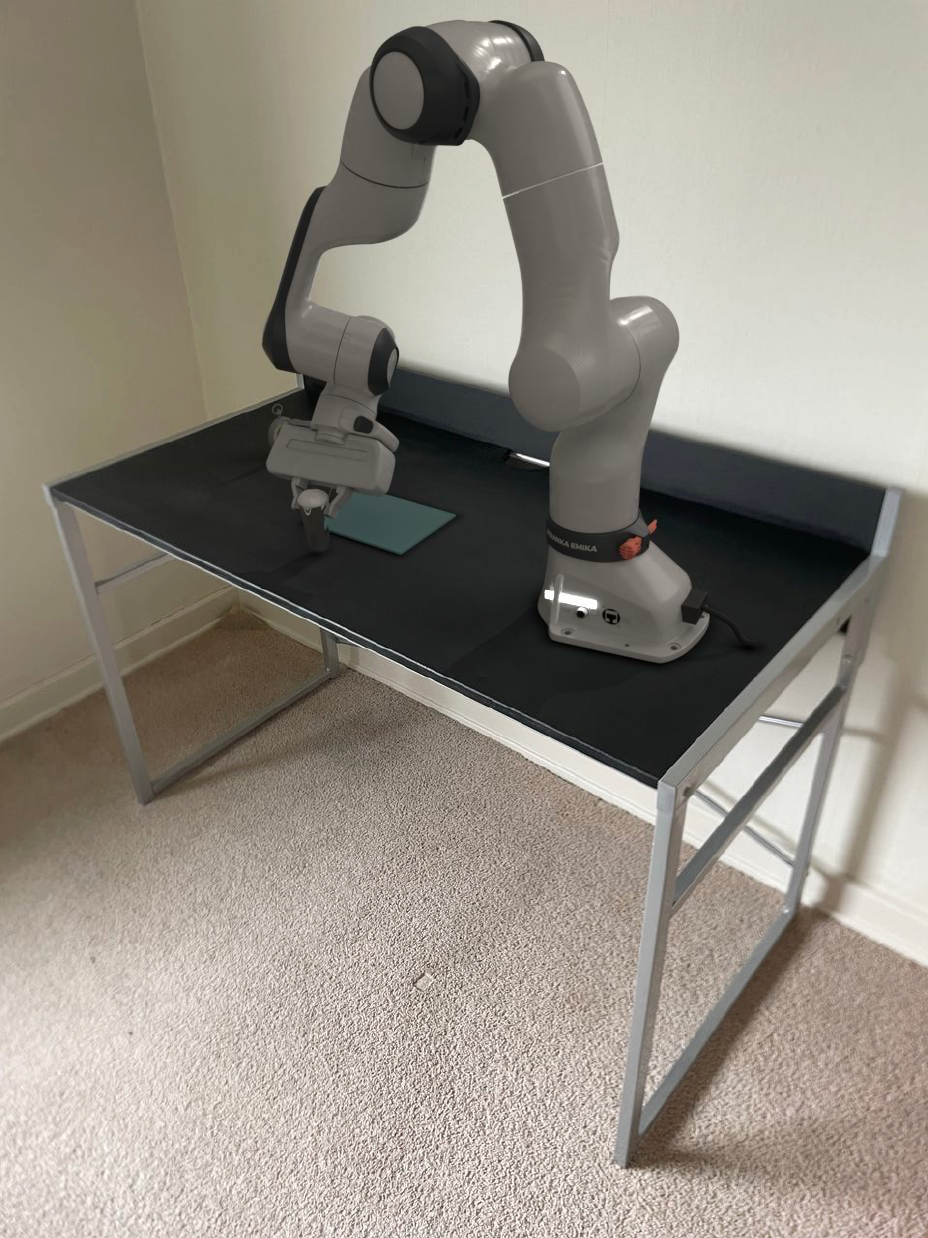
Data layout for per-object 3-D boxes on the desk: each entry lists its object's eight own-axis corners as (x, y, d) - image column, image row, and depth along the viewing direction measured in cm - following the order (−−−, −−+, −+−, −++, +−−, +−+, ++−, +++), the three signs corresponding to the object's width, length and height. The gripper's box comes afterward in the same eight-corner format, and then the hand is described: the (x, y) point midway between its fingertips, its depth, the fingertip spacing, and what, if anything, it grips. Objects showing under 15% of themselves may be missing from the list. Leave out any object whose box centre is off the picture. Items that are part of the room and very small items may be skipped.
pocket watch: (315, 467, 165) (307, 414, 159) (269, 469, 165) (259, 416, 160) (322, 448, 172) (314, 396, 166) (277, 450, 172) (268, 399, 167)
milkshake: (334, 555, 136) (326, 495, 131) (300, 552, 137) (291, 492, 132) (343, 540, 140) (336, 481, 134) (310, 537, 141) (301, 478, 135)
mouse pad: (455, 516, 146) (455, 514, 146) (400, 555, 137) (400, 553, 137) (361, 489, 157) (361, 486, 156) (304, 523, 148) (303, 521, 147)
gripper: (274, 408, 138) (245, 495, 136) (389, 426, 129) (360, 518, 128) (296, 425, 144) (269, 508, 142) (408, 443, 135) (381, 532, 133)
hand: (313, 513), depth 135 cm, fingers closed on milkshake, 4 cm apart
